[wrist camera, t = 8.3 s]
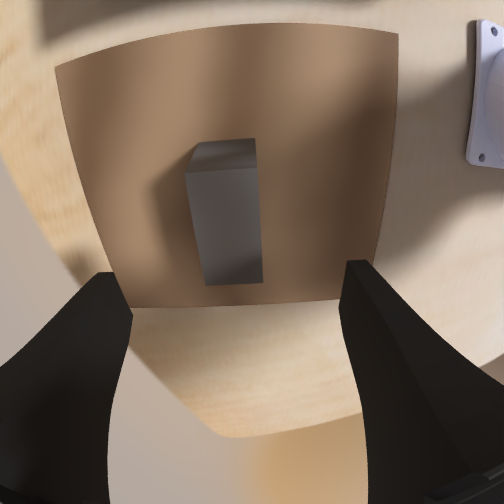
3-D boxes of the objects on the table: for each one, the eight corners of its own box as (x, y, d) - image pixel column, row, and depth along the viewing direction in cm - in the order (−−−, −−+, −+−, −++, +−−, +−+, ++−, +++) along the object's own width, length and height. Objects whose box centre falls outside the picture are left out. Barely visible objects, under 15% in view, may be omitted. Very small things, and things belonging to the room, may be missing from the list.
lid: (390, 34, 10) (442, 35, 7) (361, 288, 19) (379, 340, 16) (63, 64, 10) (7, 79, 7) (132, 298, 19) (115, 350, 16)
